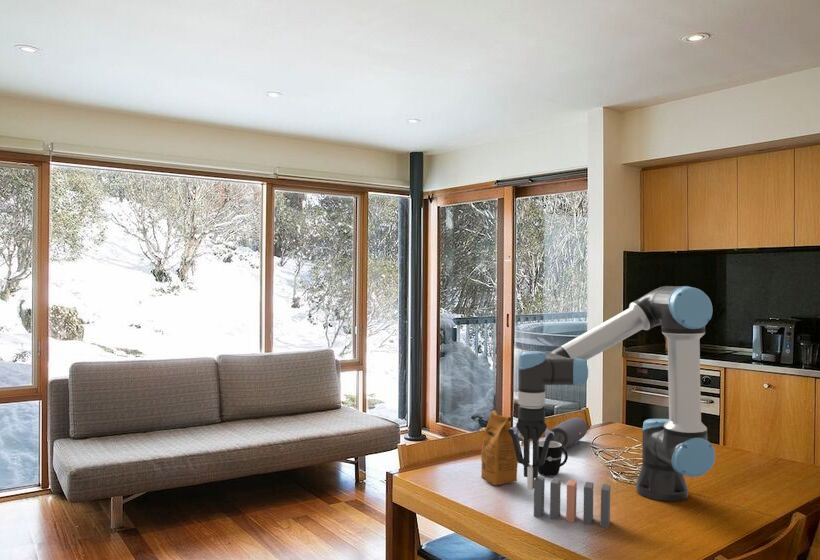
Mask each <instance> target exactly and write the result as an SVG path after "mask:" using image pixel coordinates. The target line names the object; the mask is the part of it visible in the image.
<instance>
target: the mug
mask: <svg viewBox="0 0 820 560" xmlns="http://www.w3.org/2000/svg"><path fill="white" fill-rule="evenodd" d="M544 442H545V440H539V460H540V458H541V454H542V450H543V446H544ZM563 452H564V459H563V461H562V456H563V455H562V454H563ZM568 457H569V455H568V452H567V449H564V448H562V444H561V443H558V442H555V441H550V444H549V448H548V452H547V456H546V460H545V463H544V464H543V465H542V466H538V475H540V476H544V475H545V477H555V476H558V475H559V472H560V469H561V467H562V466H563V467H564V465H565V464H566V463H567V461H568Z"/></svg>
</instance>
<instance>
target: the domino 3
mask: <svg viewBox="0 0 820 560" xmlns="http://www.w3.org/2000/svg"><path fill="white" fill-rule="evenodd" d="M577 485H578V481H577V480H576V479H575V480H574V479H569V480H568V482H567V484H566V509H565V510H566V513H565V514H566V515H565V516H566V519H565V521H566V522H569V523H575V520H576V518H577V494H578V493H577Z"/></svg>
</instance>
